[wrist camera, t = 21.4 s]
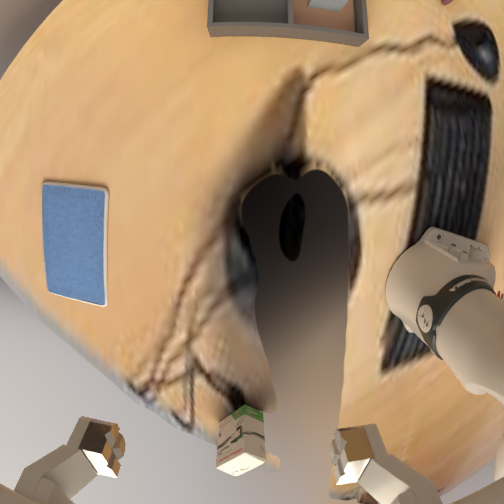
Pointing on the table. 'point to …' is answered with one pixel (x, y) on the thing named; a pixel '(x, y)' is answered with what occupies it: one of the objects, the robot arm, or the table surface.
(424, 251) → the robot arm
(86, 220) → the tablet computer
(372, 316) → the table surface
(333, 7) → the capped bottle
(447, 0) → the video game controller
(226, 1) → the organizer
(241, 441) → the ink box
